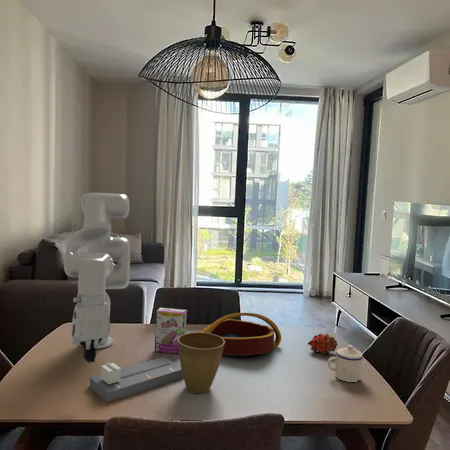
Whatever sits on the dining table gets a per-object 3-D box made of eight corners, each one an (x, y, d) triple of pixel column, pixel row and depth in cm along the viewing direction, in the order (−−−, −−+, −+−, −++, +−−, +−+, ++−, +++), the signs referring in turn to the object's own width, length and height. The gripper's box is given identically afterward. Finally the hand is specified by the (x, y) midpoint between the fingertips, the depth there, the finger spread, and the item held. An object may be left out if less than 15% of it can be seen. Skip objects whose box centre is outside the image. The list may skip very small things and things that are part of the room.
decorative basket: (266, 339, 192) (265, 305, 192) (297, 355, 164) (296, 315, 165) (192, 345, 181) (192, 310, 182) (212, 363, 153) (212, 321, 154)
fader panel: (89, 386, 134) (89, 377, 134) (163, 365, 153) (164, 356, 153) (107, 402, 125) (108, 392, 125) (184, 377, 144) (184, 368, 144)
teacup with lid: (355, 372, 156) (358, 341, 155) (364, 384, 147) (367, 351, 146) (323, 371, 155) (325, 340, 154) (330, 383, 146) (332, 350, 145)
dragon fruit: (339, 358, 172) (308, 360, 173) (334, 340, 178) (305, 342, 179) (340, 346, 166) (309, 348, 167) (336, 328, 173) (306, 330, 174)
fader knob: (100, 378, 133) (101, 364, 132) (112, 374, 135) (112, 361, 135) (108, 384, 129) (109, 370, 129) (120, 380, 132) (121, 367, 131)
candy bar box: (153, 352, 164) (155, 310, 162) (157, 347, 169) (158, 307, 167) (182, 355, 163) (184, 313, 161) (185, 350, 168) (187, 309, 166)
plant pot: (204, 404, 127) (207, 352, 126) (165, 390, 135) (167, 340, 133) (230, 386, 140) (233, 338, 138) (193, 373, 147) (196, 328, 146)
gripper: (71, 305, 117) (70, 371, 118) (120, 298, 127) (118, 359, 129) (60, 300, 123) (59, 362, 124) (108, 293, 133) (107, 351, 134)
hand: (89, 360), depth 126 cm, fingers closed
